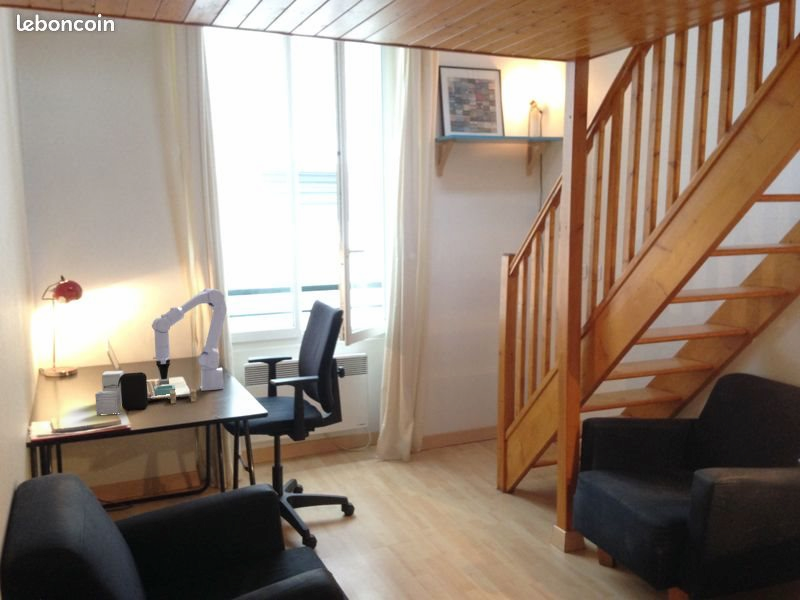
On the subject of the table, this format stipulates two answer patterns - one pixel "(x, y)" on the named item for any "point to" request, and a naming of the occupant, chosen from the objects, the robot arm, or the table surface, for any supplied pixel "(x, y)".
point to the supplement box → (112, 381)
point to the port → (163, 389)
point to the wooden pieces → (173, 395)
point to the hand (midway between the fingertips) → (164, 378)
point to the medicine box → (108, 402)
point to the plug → (163, 381)
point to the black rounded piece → (134, 391)
